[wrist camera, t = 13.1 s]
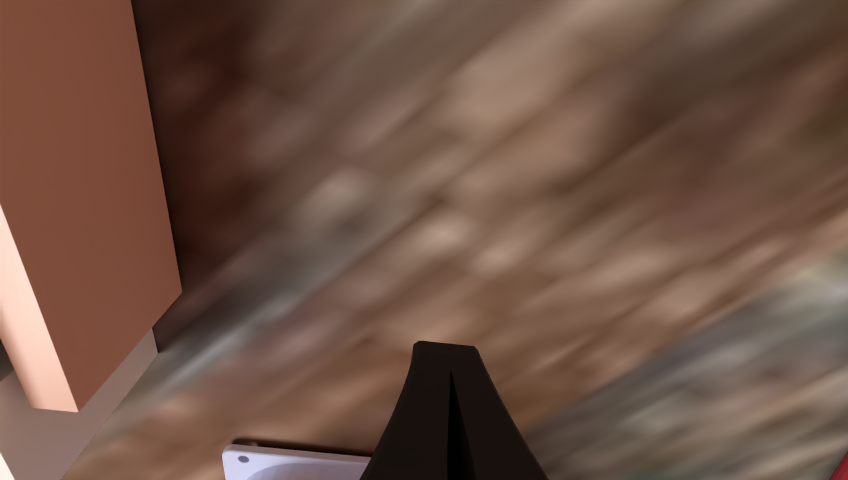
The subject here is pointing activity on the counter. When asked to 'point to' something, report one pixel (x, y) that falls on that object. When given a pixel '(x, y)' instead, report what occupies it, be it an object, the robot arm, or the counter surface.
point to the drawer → (77, 198)
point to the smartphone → (841, 470)
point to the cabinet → (58, 419)
